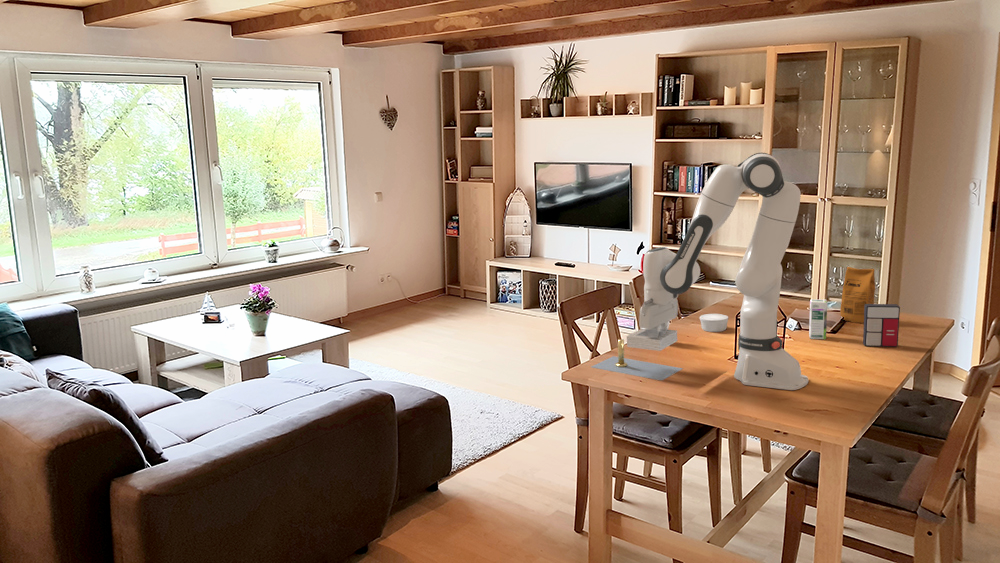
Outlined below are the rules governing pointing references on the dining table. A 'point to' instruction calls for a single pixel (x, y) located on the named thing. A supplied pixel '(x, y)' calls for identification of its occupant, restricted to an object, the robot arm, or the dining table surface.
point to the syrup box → (818, 319)
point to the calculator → (881, 325)
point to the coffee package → (857, 293)
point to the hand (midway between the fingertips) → (659, 336)
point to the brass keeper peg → (621, 354)
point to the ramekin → (714, 322)
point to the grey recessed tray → (651, 339)
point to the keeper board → (638, 368)
